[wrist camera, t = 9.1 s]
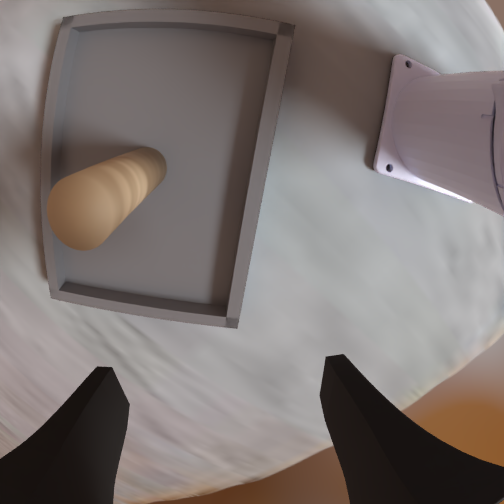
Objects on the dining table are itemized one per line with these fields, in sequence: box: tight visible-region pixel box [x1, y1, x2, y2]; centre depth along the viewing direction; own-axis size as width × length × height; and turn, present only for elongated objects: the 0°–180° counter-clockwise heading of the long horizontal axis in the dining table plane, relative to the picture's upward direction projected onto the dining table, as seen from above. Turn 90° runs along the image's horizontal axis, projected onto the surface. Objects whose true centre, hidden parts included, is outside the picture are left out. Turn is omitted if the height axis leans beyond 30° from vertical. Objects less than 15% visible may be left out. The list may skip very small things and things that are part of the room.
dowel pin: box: [47, 147, 167, 251], centre depth 12 cm, size 2×2×8 cm
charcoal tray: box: [40, 9, 295, 329], centre depth 15 cm, size 13×18×2 cm
